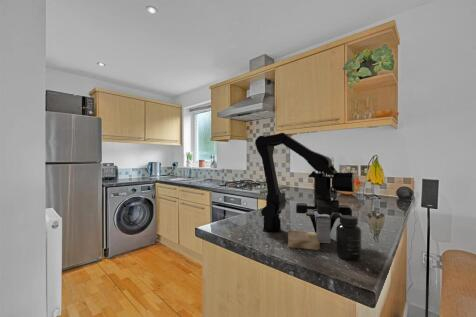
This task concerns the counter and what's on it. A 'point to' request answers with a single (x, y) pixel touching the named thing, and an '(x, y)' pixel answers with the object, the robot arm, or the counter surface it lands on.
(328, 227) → the medicine box
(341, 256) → the supplement bottle
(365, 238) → the counter surface
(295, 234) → the oak block
